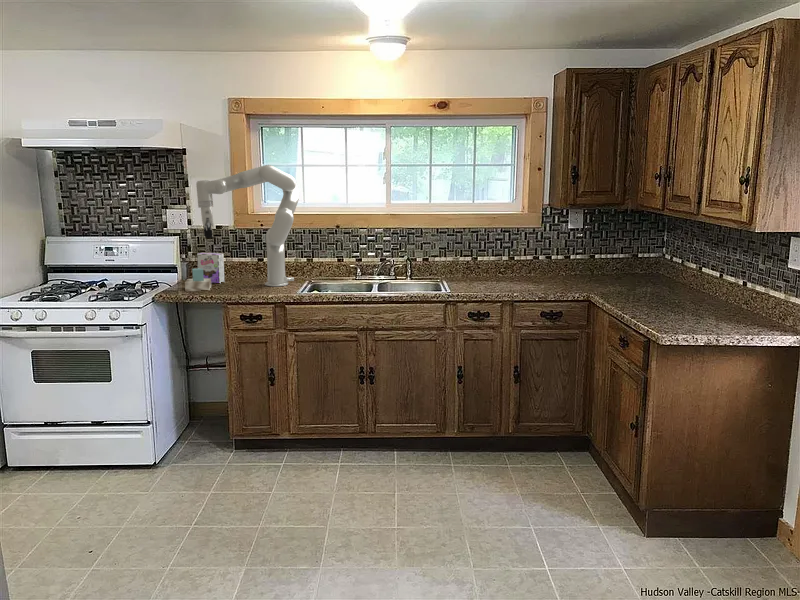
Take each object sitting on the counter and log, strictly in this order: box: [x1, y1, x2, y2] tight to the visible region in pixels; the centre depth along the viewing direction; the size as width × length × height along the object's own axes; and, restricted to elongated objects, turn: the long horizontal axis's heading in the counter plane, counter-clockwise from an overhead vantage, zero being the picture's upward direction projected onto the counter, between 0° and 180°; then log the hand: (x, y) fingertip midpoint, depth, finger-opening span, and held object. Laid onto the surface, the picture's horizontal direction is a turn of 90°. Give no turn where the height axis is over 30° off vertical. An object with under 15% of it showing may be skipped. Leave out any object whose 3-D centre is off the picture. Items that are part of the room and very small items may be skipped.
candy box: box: [196, 252, 225, 284], centre depth 364 cm, size 14×6×16 cm, turn 73°
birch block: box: [184, 278, 212, 292], centre depth 344 cm, size 12×12×5 cm
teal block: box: [191, 267, 204, 281], centre depth 343 cm, size 5×5×6 cm
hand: (208, 237), depth 344 cm, fingers open, 9 cm apart
